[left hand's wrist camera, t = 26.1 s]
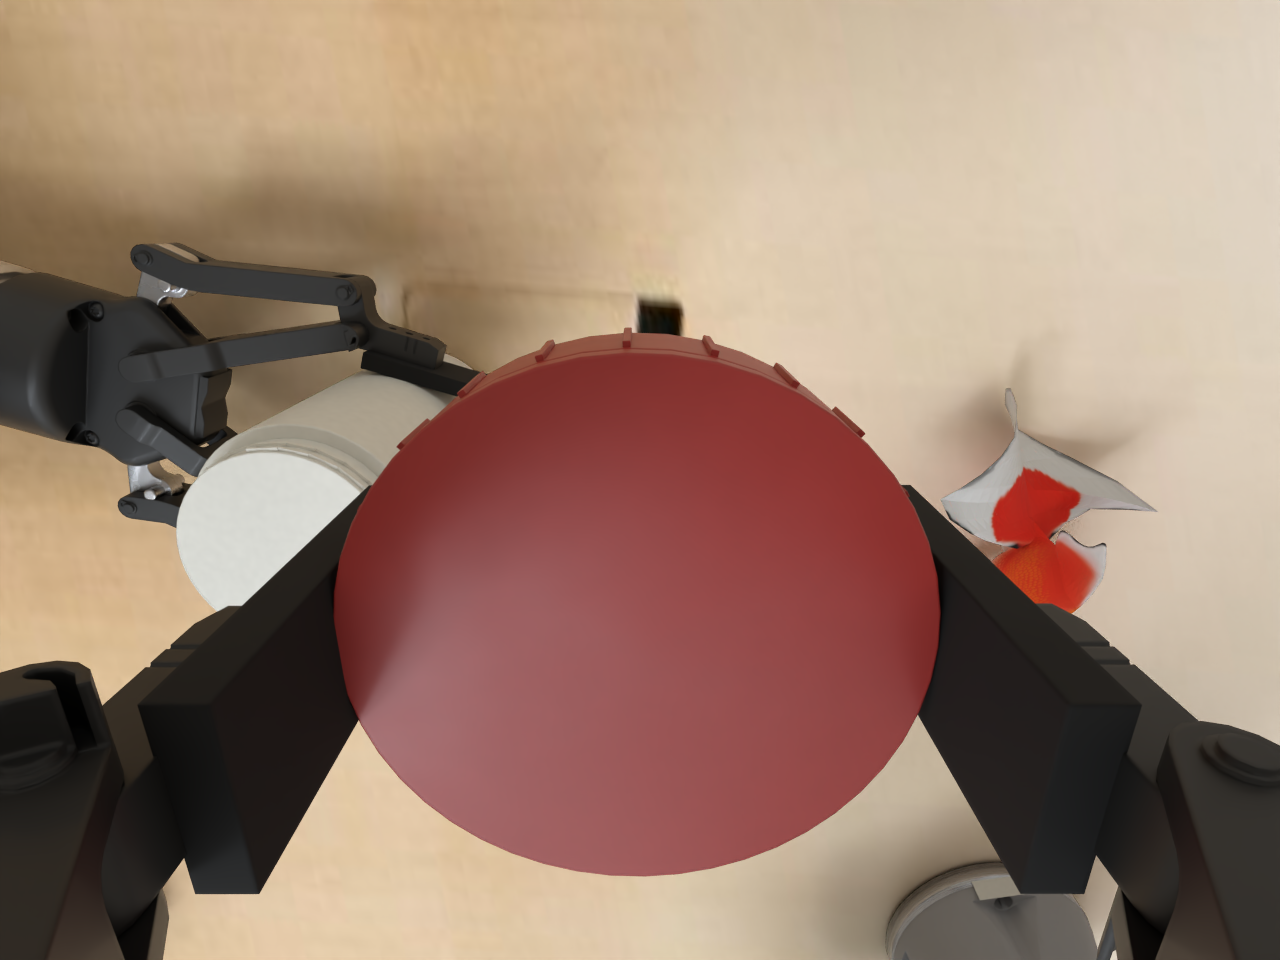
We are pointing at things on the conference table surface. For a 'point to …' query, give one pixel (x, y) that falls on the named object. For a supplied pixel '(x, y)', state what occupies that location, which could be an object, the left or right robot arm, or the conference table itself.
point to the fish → (1040, 517)
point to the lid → (636, 607)
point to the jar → (293, 480)
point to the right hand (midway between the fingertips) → (483, 479)
